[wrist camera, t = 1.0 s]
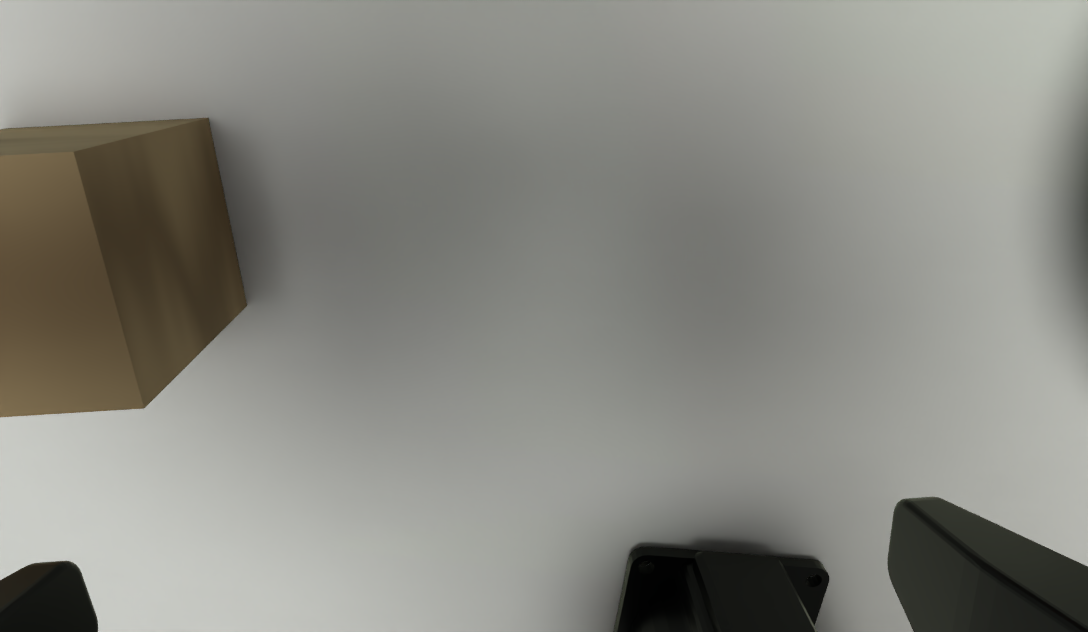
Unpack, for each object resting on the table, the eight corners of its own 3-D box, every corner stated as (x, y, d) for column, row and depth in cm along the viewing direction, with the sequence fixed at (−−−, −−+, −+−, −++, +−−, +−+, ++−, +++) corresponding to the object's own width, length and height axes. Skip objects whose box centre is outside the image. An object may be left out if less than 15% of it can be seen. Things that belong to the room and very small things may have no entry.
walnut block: (247, 305, 20) (144, 408, 14) (63, 316, 20) (-114, 424, 14) (209, 117, 18) (73, 151, 13) (6, 128, 18) (-222, 167, 12)
